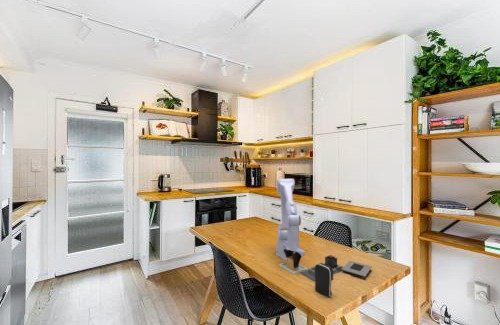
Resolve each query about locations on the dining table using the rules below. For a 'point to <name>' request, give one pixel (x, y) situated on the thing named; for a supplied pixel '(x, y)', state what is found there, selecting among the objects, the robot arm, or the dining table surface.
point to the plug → (291, 263)
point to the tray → (300, 269)
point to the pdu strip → (311, 276)
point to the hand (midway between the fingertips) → (292, 265)
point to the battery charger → (323, 279)
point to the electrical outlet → (356, 268)
